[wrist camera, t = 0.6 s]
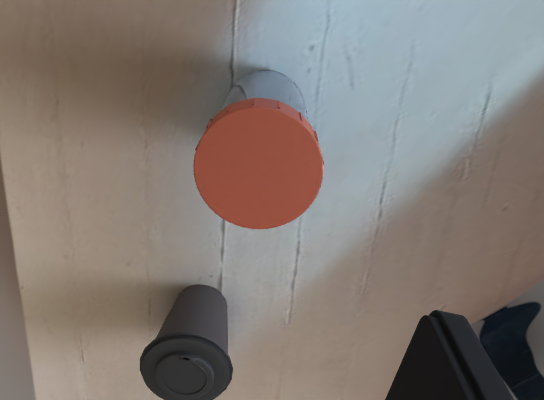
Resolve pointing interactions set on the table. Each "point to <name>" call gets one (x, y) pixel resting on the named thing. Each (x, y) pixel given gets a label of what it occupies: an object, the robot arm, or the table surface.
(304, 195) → the lid
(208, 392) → the coffee cup
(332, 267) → the table surface
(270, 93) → the thermos
